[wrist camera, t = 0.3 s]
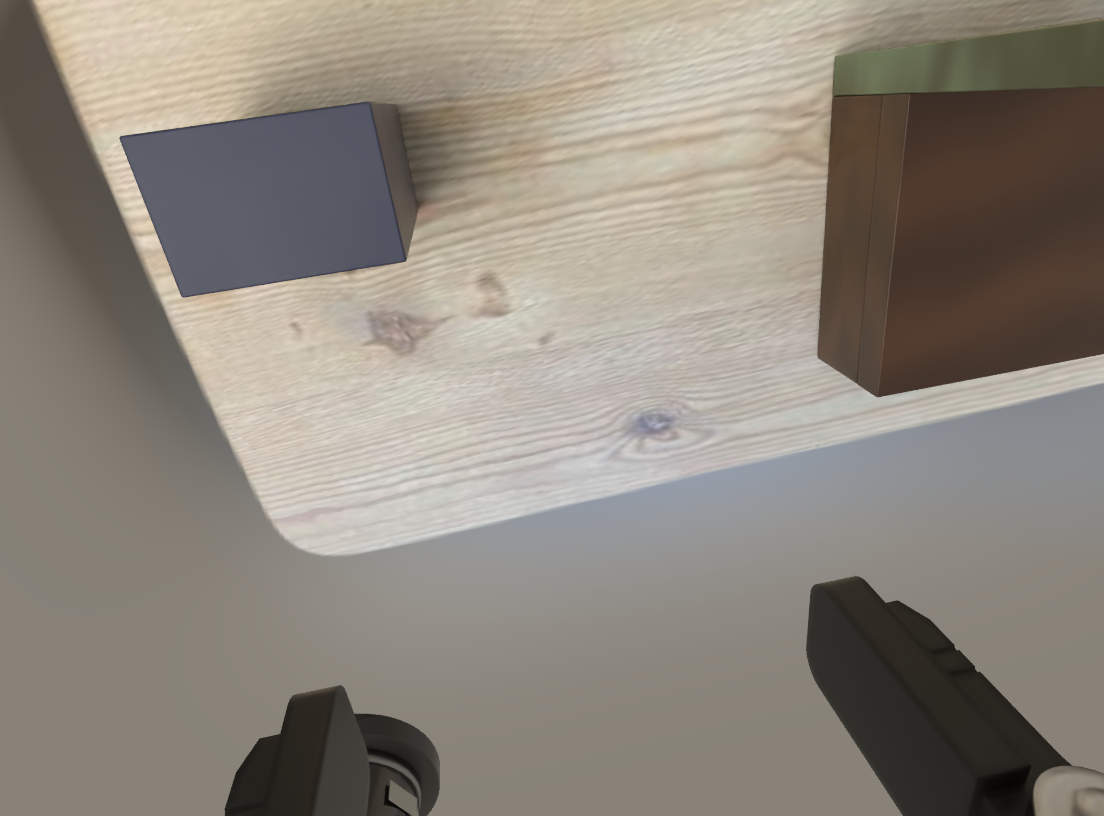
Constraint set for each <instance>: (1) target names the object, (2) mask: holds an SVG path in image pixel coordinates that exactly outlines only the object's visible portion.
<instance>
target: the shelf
mask: <svg viewBox="0 0 1104 816" xmlns="http://www.w3.org/2000/svg"><path fill="white" fill-rule="evenodd" d="M833 96H834V97H833V105H832V122H831V139H830V156H829V173H828V190H827V207H826V224H825V240H824V257H823V274H822V291H821V308H820V325H819V342H818V358H819V359H820V360H822V361H823V362H825V363H826V364H828V365H830V366H831V367H833V368H834V369H836V370H837V371H839V372H840V373H842V374H843V375H845V376H846V377H848V378H849V379H851V380H852V381H854V382H855V383H858V385H859V386H861V387H862V388H864V389H865V390H867V391H868V392H870V393H871V394H873V395H874V396H876V397H882V396H887V395H892V394H897V393H903V392H908V391H913V390H918V389H924V388H929V387H934V386H939V385H944V384H950V383H955V382H960V381H965V380H971V379H976V378H981V377H986V376H991V375H997V374H1002V373H1007V372H1012V371H1018V370H1023V369H1028V368H1033V367H1038V366H1044V365H1049V364H1054V363H1059V362H1065V361H1070V360H1075V359H1080V358H1085V357H1091V356H1096V355H1101V354H1104V18H1098V19H1091V20H1084V21H1077V22H1070V23H1063V24H1056V25H1049V26H1042V27H1035V28H1028V29H1021V30H1014V31H1007V32H1000V33H993V34H986V35H979V36H972V37H965V38H958V39H951V40H944V41H937V42H930V43H923V44H916V45H909V46H902V47H895V48H888V49H881V50H874V51H867V52H860V53H853V54H846V55H839V56H836V57H835V68H834V85H833Z"/></svg>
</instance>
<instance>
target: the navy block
mask: <svg viewBox="0 0 1104 816" xmlns="http://www.w3.org/2000/svg"><path fill="white" fill-rule="evenodd" d="M120 141H121V143H122V146H123V149H124V151H125V154H126V156H127V159H128V161H129V164H130V166H131V169H132V171H133V174H134V177H135V179H136V182H137V184H138V187H139V189H140V192H141V194H142V197H143V199H144V202H145V205H146V207H147V210H148V212H149V215H150V217H151V220H152V222H153V225H154V227H155V230H156V233H157V235H158V238H159V240H160V243H161V245H162V248H163V250H164V253H165V255H166V258H167V261H168V263H169V266H170V268H171V271H172V273H173V276H174V278H175V281H176V283H177V286H178V289H179V291H180V294H181V296H182V297H190V296H196V295H203V294H209V293H215V292H221V291H227V290H234V289H240V288H246V287H252V286H258V285H264V284H271V283H277V282H283V281H289V280H295V279H302V278H308V277H314V276H320V275H326V274H332V273H339V272H345V271H351V270H357V269H363V268H370V267H376V266H382V265H388V264H394V263H401V262H405V261H406V260H407V256H408V251H409V247H410V243H411V239H412V234H413V230H414V226H415V221H416V217H417V213H418V205H417V201H416V196H415V191H414V186H413V182H412V177H411V172H410V168H409V163H408V158H407V154H406V149H405V144H404V139H403V135H402V130H401V125H400V121H399V116H398V111H397V106H396V105H395V104H387V103H377V102H361V103H354V104H347V105H340V106H333V107H326V108H319V109H311V110H304V111H297V112H290V113H283V114H276V115H269V116H261V117H254V118H247V119H240V120H233V121H226V122H218V123H211V124H204V125H197V126H190V127H183V128H176V129H168V130H161V131H154V132H147V133H140V134H133V135H126V136H121V137H120Z"/></svg>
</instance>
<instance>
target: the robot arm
mask: <svg viewBox="0 0 1104 816" xmlns="http://www.w3.org/2000/svg"><path fill="white" fill-rule="evenodd" d="M806 651H807V658H808V662H809V666H810V669H811V672H812V675H813V677H814V679H815V681H816V683H817V685H818V687H819V688H820V690H821V691H822V693H823V694H824V696H825V697H826V699H827V700H828V702H829V703H830V705H831V707H832V708H833V710H834V711H835V713H836V714H837V716H838V717H839V719H840V720H841V722H842V723H843V725H844V726H845V728H846V729H847V731H848V732H849V734H850V735H851V737H852V739H853V740H854V742H855V743H856V745H857V746H858V748H859V749H860V751H861V752H862V754H863V755H864V757H865V758H866V760H867V761H868V763H869V765H870V766H871V768H872V769H873V771H874V772H875V774H876V775H877V777H878V778H879V780H880V781H881V783H882V784H883V786H884V787H885V789H886V791H887V792H888V794H889V795H890V797H891V798H892V800H893V801H894V803H895V804H896V806H897V807H898V809H899V810H900V812H901V813H902V815H903V816H1104V774H1103V773H1101V772H1098V771H1095V770H1092V769H1088V768H1084V767H1078V766H1072V765H1071V764H1070V763H1068V762H1067V761H1066V760H1065V759H1064V758H1062V756H1061V755H1060V754H1058V752H1057V751H1056V750H1055V749H1054V748H1053V747H1052V746H1051V745H1050V744H1049V743H1048V742H1047V741H1046V740H1045V739H1044V738H1043V737H1042V736H1041V735H1040V734H1039V733H1038V732H1037V731H1036V730H1035V728H1034V727H1033V726H1032V725H1031V724H1030V723H1029V722H1028V721H1027V720H1026V719H1025V718H1024V717H1023V716H1022V715H1021V714H1020V713H1019V712H1018V711H1017V710H1016V709H1015V708H1014V707H1013V706H1012V705H1011V703H1010V702H1009V701H1008V700H1007V699H1006V698H1005V697H1004V696H1003V695H1002V694H1001V693H1000V692H999V691H998V690H997V689H996V688H995V687H994V686H993V685H992V684H991V683H990V682H989V681H988V680H987V678H985V676H984V675H983V674H982V673H980V672H977V671H976V670H975V666H974V665H973V664H972V663H971V662H970V661H969V660H968V659H967V658H966V657H965V656H964V655H963V654H962V653H961V651H960V650H958V651H957V650H956V649H955V647H954V644H953V643H952V642H951V641H950V640H949V639H948V638H947V637H946V636H945V635H944V634H943V633H942V632H941V631H940V630H939V629H938V627H937V626H936V625H935V624H934V623H933V622H932V621H931V620H930V619H928V618H926V617H925V616H923V615H921V614H920V613H918V612H916V611H915V610H913V609H911V608H910V607H908V606H906V605H905V604H903V603H901V602H900V601H893V602H889V603H885V602H884V601H883V600H882V599H881V598H880V596H879V595H878V594H877V593H876V592H875V591H874V590H873V589H872V588H871V587H870V585H869V584H868V583H867V582H866V581H865V580H864V579H862V578H860V577H858V576H854V577H850V578H845V579H840V580H835V581H830V582H825V583H821V584H816V585H814V586H813V587H812V589H811V594H810V606H809V620H808V633H807V648H806ZM420 806H421V782H420V779H419V777H418V775H417V773H416V772H415V770H414V769H413V768H412V767H411V766H410V765H409V764H408V763H406V762H405V761H404V760H402V759H400V758H399V757H397V756H395V755H392V754H389V753H386V752H383V751H379V750H373V749H366V745H365V742H364V739H363V737H362V734H361V731H360V729H359V726H358V723H357V720H356V718H355V715H354V712H353V709H352V707H351V704H350V701H349V699H348V696H347V693H346V691H345V689H344V687H342V686H341V685H339V686H335V687H330V688H325V689H320V690H316V691H311V692H306V693H301V694H296V695H293V696H292V698H291V699H290V701H289V703H288V706H287V710H286V714H285V718H284V721H283V726H282V729H281V733H280V734H278V735H274V736H269V737H265V738H260V739H259V740H258V742H257V743H256V744H255V746H254V747H253V749H252V750H251V752H250V753H249V755H248V756H247V757H246V759H245V760H244V762H243V763H242V765H241V766H240V768H239V769H238V771H237V772H236V775H235V778H234V781H233V784H232V787H231V791H230V794H229V797H228V800H227V803H226V807H225V816H419V810H420Z"/></svg>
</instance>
